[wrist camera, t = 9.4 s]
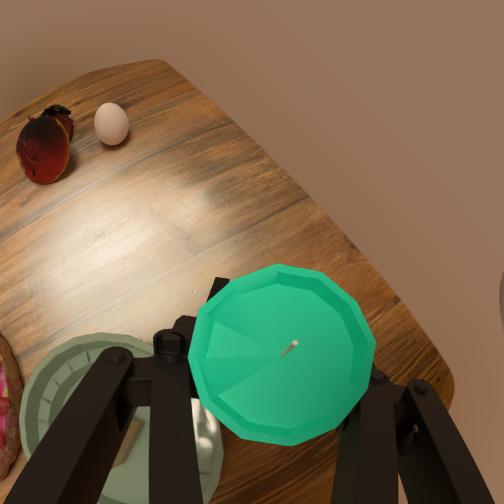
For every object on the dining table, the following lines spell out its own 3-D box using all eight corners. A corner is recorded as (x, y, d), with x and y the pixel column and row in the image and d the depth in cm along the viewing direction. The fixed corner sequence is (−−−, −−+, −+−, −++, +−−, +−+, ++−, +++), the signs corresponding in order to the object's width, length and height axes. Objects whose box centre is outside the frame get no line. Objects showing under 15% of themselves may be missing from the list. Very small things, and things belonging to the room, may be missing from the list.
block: (146, 422, 28) (130, 425, 23) (124, 463, 26) (106, 471, 21) (102, 395, 29) (81, 392, 24) (82, 434, 27) (59, 437, 22)
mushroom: (61, 170, 53) (15, 200, 40) (43, 113, 47) (-9, 130, 34) (112, 151, 51) (68, 177, 38) (93, 88, 45) (43, 96, 32)
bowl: (257, 399, 31) (262, 398, 26) (176, 548, 22) (167, 571, 17) (95, 312, 34) (74, 295, 28) (25, 451, 25) (-3, 453, 19)
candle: (299, 330, 20) (375, 239, 10) (308, 420, 18) (407, 431, 7) (206, 334, 20) (181, 243, 9) (210, 427, 17) (183, 460, 7)
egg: (97, 154, 45) (83, 118, 38) (106, 131, 47) (95, 96, 40) (128, 152, 45) (116, 114, 38) (135, 129, 47) (126, 93, 41)
